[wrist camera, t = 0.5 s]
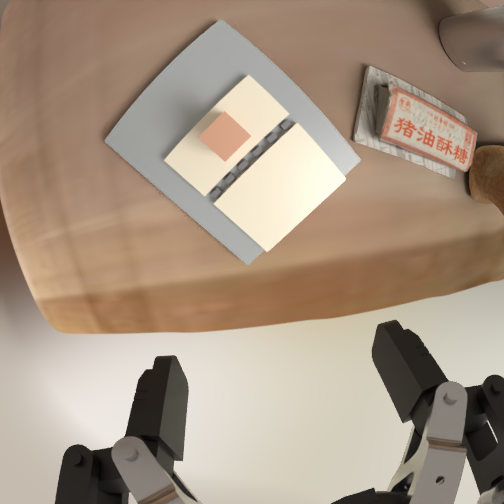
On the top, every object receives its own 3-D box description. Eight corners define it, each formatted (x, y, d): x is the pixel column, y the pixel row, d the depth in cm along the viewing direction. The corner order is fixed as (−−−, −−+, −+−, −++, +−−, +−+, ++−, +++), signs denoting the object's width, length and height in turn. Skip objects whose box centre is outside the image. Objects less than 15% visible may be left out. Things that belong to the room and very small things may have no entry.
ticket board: (221, 23, 22) (220, 15, 19) (355, 158, 29) (365, 161, 27) (109, 140, 26) (100, 141, 24) (247, 259, 34) (248, 269, 32)
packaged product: (483, 120, 23) (471, 187, 27) (461, 117, 27) (449, 178, 32) (382, 59, 21) (368, 145, 25) (362, 66, 25) (349, 141, 29)
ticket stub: (248, 76, 23) (253, 63, 18) (287, 114, 25) (302, 111, 20) (165, 159, 26) (150, 167, 21) (205, 194, 29) (200, 211, 23)
